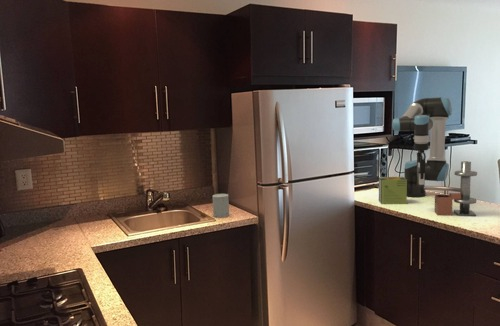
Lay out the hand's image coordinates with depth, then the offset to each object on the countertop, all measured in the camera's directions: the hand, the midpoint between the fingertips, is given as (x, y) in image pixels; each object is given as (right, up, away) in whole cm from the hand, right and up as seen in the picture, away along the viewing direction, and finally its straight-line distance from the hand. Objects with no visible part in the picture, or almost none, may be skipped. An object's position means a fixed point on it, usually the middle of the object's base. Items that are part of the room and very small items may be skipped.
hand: (420, 183), depth 243 cm
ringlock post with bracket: (+16, -16, -8) cm, 24 cm away
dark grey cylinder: (0, -2, 0) cm, 2 cm away
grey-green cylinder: (-115, -20, +9) cm, 117 cm away
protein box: (-8, -13, +25) cm, 29 cm away
